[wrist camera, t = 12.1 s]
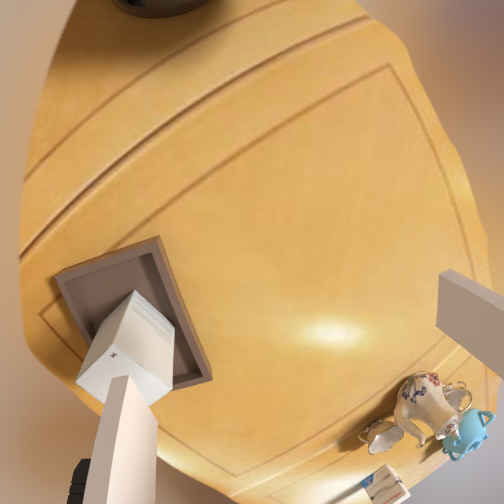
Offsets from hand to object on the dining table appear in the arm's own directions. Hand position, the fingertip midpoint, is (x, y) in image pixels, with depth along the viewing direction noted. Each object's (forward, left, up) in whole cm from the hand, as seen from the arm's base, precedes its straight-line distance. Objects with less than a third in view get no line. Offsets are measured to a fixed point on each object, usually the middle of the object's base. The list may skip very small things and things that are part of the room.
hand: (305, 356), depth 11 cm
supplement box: (+9, -15, -27) cm, 32 cm away
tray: (+9, -15, -27) cm, 32 cm away
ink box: (+74, +18, -28) cm, 81 cm away
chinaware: (+45, +26, -28) cm, 59 cm away
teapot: (+73, +46, -28) cm, 90 cm away
